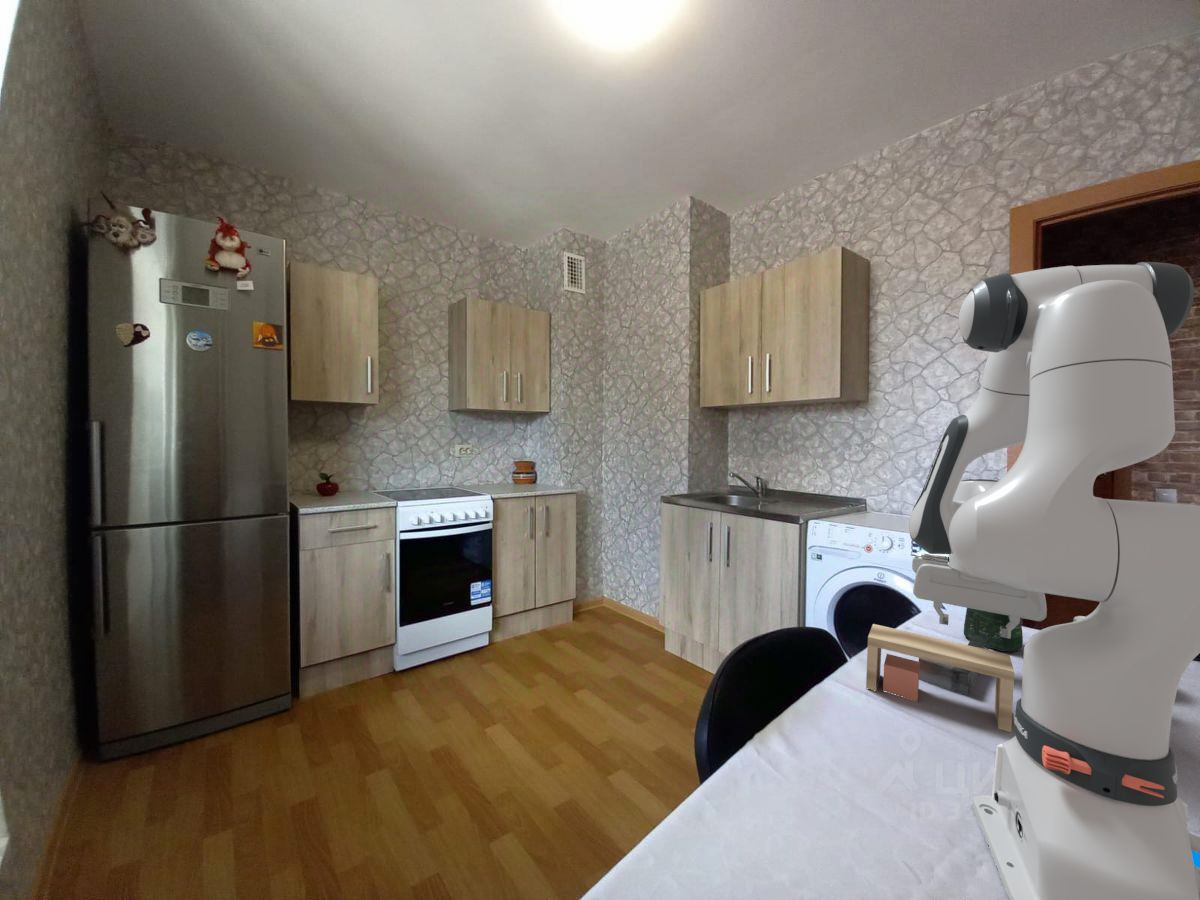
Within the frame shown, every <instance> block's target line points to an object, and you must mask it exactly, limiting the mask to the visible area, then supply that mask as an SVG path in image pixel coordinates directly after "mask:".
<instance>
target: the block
mask: <svg viewBox="0 0 1200 900" xmlns="http://www.w3.org/2000/svg"><path fill="white" fill-rule="evenodd" d="M919 665H920V662H919V660H918V661H917V660H915V659H909V658H906V657H902V656H899V655H894V654H890V653H886V655H885V659H884V663H883V678H882V679H883V681H882V691H883V690H884V691H887V692H890V693H893V694H896V695H899V696H898V697H900V696H903V697H905V698H904V699H906V698H908V699H907V700H910V699H911V700H910V701H913V700H914V702H918V697H919V695H918V694H919V684H920V683H919V682H920V680H919ZM890 693H889V694H890ZM893 694H892V695H893ZM896 695H895V696H896ZM903 697H902V698H903Z"/></svg>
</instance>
